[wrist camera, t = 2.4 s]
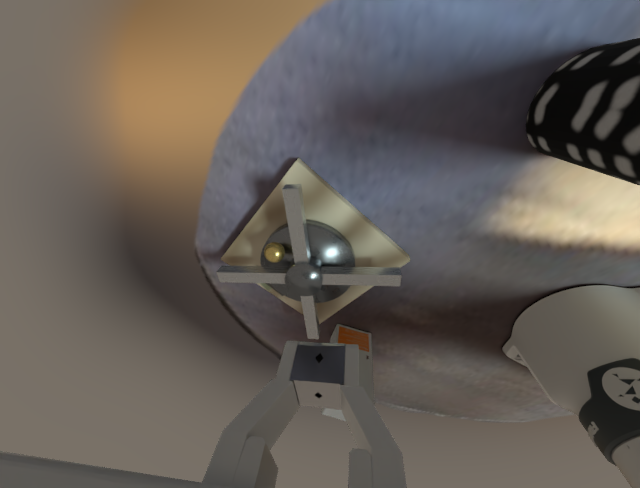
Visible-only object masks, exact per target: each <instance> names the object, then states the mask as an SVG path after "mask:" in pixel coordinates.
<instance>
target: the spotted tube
mask: <svg viewBox="0 0 640 488" xmlns="http://www.w3.org/2000/svg"><path fill="white" fill-rule="evenodd" d="M526 132H527V136H528V139H529V141H530V143H531V144H532V146H533V147H534V148H535V149H537V150H538V151H539V152H541V153H544V154H546V155H549V156H552V157H555V158H558V159H561V160H564V161H567V162H570V163H573V164H576V165H579V166H582V167H585V168H588V169H591V170H594V171H597V172H600V173H603V174H606V175H610V176H613V177H616V178H619V179H622V180H625V181H628V182H631V183H634V184H637V185H640V38H637V39H632V40H627V41H622V42H617V43H612V44H606V45H602V46H599V47H595V48H591V49H589V50H587V51H585V52H583V53H580V54H578V55H577V56H575V57H574V58H572V59H570V60H569V61H567V62H566V63H564V64H563V65H562V66H561V67H560V68H558V69H557V70H556V71H555V72H554V73H553V74H552V75H551V76H550V77H549V78H548V79H547V80H546V81H545V83H544V84H543V85H542V87H541V88H540V89H539V91H538V92H537V94H536V96H535V98H534V99H533V101H532V103H531V106H530V109H529V111H528V114H527V121H526Z"/></svg>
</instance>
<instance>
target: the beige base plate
mask: <svg viewBox="0 0 640 488" xmlns="http://www.w3.org/2000/svg"><path fill="white" fill-rule="evenodd" d="M286 184H301V186H302V194H303V201H304V209H305V217H306V220H313V221H318V222H322V223H325V224H327V225H329V226H331V227H333V228H335V229H336V230H338V231H339V232H340V233H341V234H342V235H344V236H345V238H346V239H347V240H348V241H349V243H350V244H351V246H352V248H353V251H354V254H355V267H402V266H403V265H405V264H406V263H408V262H409V261H410V257H409V255H408V254H407V253H406V252H405V251H404V250H403V249H401V248H400V247H399V246H398V245H397V244H396V243H395V242H393V241H392V240H391V239H390V238H389V237H388V236H387V235H386V234H384V233H383V232H382V231H381V230H380V229H379V228H378V227H377V226H375V225H374V224H373V223H372V222H371V221H370V220H369V219H367V218H366V217H365V216H364V215H363V214H362V213H361V212H360V211H358V210H357V209H356V208H355V207H354V206H353V205H352V204H350V203H349V202H348V201H347V200H346V199H345V198H344V197H343V196H341V195H340V194H339V193H338V192H337V191H336V190H335V189H334V188H332V187H331V186H330V185H329V184H328V183H327V182H326V181H324V180H323V179H322V178H321V177H320V176H319V175H318V174H317V173H315V172H314V171H313V170H312V169H311V168H310V167H309V166H307V165H306V164H305V163H304V162H303V161H302V160H301V159H300V158H298V159H297V160H296V162H295V163H294V164H293V165H292V167H291V168H290V169H289V171H288V172H287V173H286V175H285V176H284V177H283V178H282V180H281V181H280V182H279V184H278V185H277V186H276V188H275V189H274V190H273V191H272V193H271V194H270V195H269V197H268V198H267V199H266V201H265V202H264V203H263V204H262V206H261V207H260V208H259V210H258V211H257V212H256V214H255V215H254V216H253V217H252V219H251V220H250V221H249V223H248V224H247V225H246V227H245V228H244V229H243V230H242V232H241V233H240V234H239V236H238V237H237V238H236V240H235V241H234V242H233V243H232V245H231V246H230V247H229V249H228V250H227V251H226V253H225V254H224V255H223V256H222V258H221V260H222V261H224V262H225V263H227V264H228V265H230V266H261V261H260V258H261V252H262V249H263V247H264V245H265V243H266V241H267V240H268V238H269V237H270V235H271V234H272V233H273V232H274V231H275V230H276V229H277V228H279V227H280V226H282V225H284V224H286V223H288V221H287V216H286V210H285V204H284V198H283V192H282V189H283V187H284V186H285V185H286ZM256 284H258V285H259V286H261V287H262V288H264V289H265V290H267V291H268V292H270V293H271V294H273V295H274V296H276V297H277V298H279V299H280V300H282V301H283V302H285V303H286V304H288V305H289V306H291V307H292V308H294V309H295V310H297V311H298V312H300V313H301V314H303V308H302V302H300V301H296V300H293V299H291V298H288V297H286V296H284V295H283V294H281V293H280V292H278V291H277V290H276V289H275V288H274V287H272V285H271V284H270V283H256ZM372 287H373V286H362V285H351V286H350V287H349V289H348V290H347V291H346V292H345V293H344V294H342V295H341V296H339V297H338V298H336V299H334V300H331V301H328V302H323V303H317V311H318V318H319V324H320V323H322V322H323V321H325V320H326V319H327V318H329V317H330V316H332V315H333V314H335V313H336V312H337V311H339V310H340V309H342V308H343V307H345V306H346V305H347V304H349V303H350V302H352V301H353V300H355V299H356V298H357V297H359V296H360V295H362V294H363V293H365V292H366V291H368V290H369V289H370V288H372ZM303 315H304V314H303Z"/></svg>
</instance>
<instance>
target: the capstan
mask: <svg viewBox="0 0 640 488" xmlns="http://www.w3.org/2000/svg"><path fill="white" fill-rule="evenodd" d="M282 192H283V198H284V204H285V210H286V216H287V221H288V223H286V224H284V225H282V226H280V227H279V228H277V229H276V230H275V231H274V232H273V233H272V234H271V235H270V237H269V238H268V240H267V241H266V243H265V245H264V247H263V249H262V252H261V258H260V261H261V266H221V267H220V268H219V269H218V271H217V272H216V273H217V276H218V278H219V281H220V282H231V283H270V284H271V285H272V287H274V288H275V289H276V290H277V291H278V292H280V293H281V294H283V295H284V296H286V297H288V298H291V299H293V300H296V301H300V302H302V308H303V314H304V320H305V326H306V331H307V337H308V339H319V335H320V326H319V318H318V311H317V303H323V302H328V301H331V300H334V299H336V298H338V297H339V296H341V295H342V294H344V293H345V292H346V291H347V290H348V289H349V287H350V286H351V285H362V286H400V283H401V271H400V267H355V254H354V251H353V248H352V246H351V244H350V243H349V241H348V240H347V239H346V238H345V236H344V235H342V234H341V233H340V232H339V231H338V230H336V229H335V228H333V227H331V226H329V225H327V224H325V223H322V222H318V221H313V220H306V217H305V209H304V201H303V194H302V186H301V184H286V185H285V186H284V187H283V189H282Z"/></svg>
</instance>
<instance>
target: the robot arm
mask: <svg viewBox="0 0 640 488" xmlns="http://www.w3.org/2000/svg"><path fill="white" fill-rule="evenodd" d="M502 350H503V352H504V353H505V354H506V356H507V357H509V358H511V359H513V360H514V361H516V362H518V363H520V364H522V365H524V366H526V367H528V369H529V370H530V372H531V373H532V375H533V376H534V378H535V379H536V381H537V382H538V384H539V385H540V387H541V388H542V390H543V391H544V393H545V394H546V395H547V397H548V398H549V400H550V401H551V402H552V403H553V404H557V405H559V406H560V407H561V408H563V409H565V410H568V411H570V412H572V413H574V414H576V415H577V416H579V420H580V422H581V423H582V425H583V427H584V428H585V429H586V431H587V432H588V435H589V437H590V439H591V440H592V441H593V443H594V444H595V445H596V447H598V448H599V449H600V451H601V452H602V453H603V455H604V456H605V458H606V459H607V460H608V461H609V462H611V463H612V464H614V465H616V466H617V467H618V468H619V470H620V471H621V473H622V474H623V476H624V477H625V478H626V480H627V481H628V483H629V484H630V486H631V487H632V488H640V288H621V287H615V286H607V285H592V286H583V287H577V288H572V289H568V290H564V291H561V292H558V293H555V294H552V295H550V296H548V297H545V298H543V299H541V300H540V301H538V302H536V303H534V304H533V305H531V306H530V307H529V308H527V309H526V310H525V311H524V312H523V313H522V314H521V315H520V316H519V317H518V319H517V320H516V322H515V324H514V326H513V330H512V335H511V338H510V339H509V340H508V341H507V342H506V344H505V345H504V346H503V348H502ZM299 406H307V407H321V408H329V409H337V410H342V413H343V415H344V418H345V420H346V422H347V425H348V427H349V429H350V431H351V434H352V436H353V438H354V441H355V443H356V445H357V447H358V449H355V448H353V449H352V450H351V452H350V453H349V477H348V488H407V487H406V480H405V472H404V464H403V456H402V452H401V450H400V449H399V447H398V445H397V443H396V442H395V440H394V438H393V437H392V435H391V433H390V432H389V430H388V428H387V427H386V425H385V423H384V422H383V420H382V418H381V416H380V415H379V413H378V411H377V410H376V408H375V406H374V404H373V403H372V401H371V399H370V398H369V396H368V394H367V393H366V391H365V389H364V388H363V387H361V386H359V346H358V344H345V343H315V342H301V341H287V342H286V344H285V346H284V350H283V353H282V357H281V361H280V364H279V368H278V371H277V375H276V378H275V379H271V380H270V381H269V383H268V384H267V385H266V386H265V387H264V388H263V389H262V390H261V391H260V392H259V393H258V394H257V395H256V396H255V397H254V398H253V399H252V400H251V401H250V402H249V404H248V405H247V406H246V407H245V408H244V409H243V410H242V411H241V412H240V413H239V414H238V415H237V416H236V417H235V418H234V419H233V420H232V422H230V423H229V425H228V426H227V427H226V428H225V429H224V430H223V431H222V433H221V436H220V438H219V441H218V444H217V446H216V448H215V451H214V453H213V456H212V458H211V461H210V464H209V466H208V468H207V471H206V474H205V476H204V479H203V481H202V483H201V482H194V481H188V480H182V479H175V478H168V477H162V476H156V475H150V474H143V473H137V472H131V471H124V470H118V469H111V468H105V467H98V466H92V465H85V464H79V463H73V462H67V461H60V460H54V459H47V458H41V457H35V456H28V455H22V454H16V453H9V452H2V451H0V488H275V484H276V479H277V473H278V467H277V465H276V463H275V461H274V459H273V457H272V455H271V453H270V450H271V448H272V446H273V445H274V444H275V442H276V441H277V439H278V438H279V437H280V435H281V434H282V432H283V430H284V429H285V428H286V426H287V425H288V423H289V422H290V421H291V419H292V417H293V416H294V415H295V413H296V412H297V410H298V409H299Z"/></svg>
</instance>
